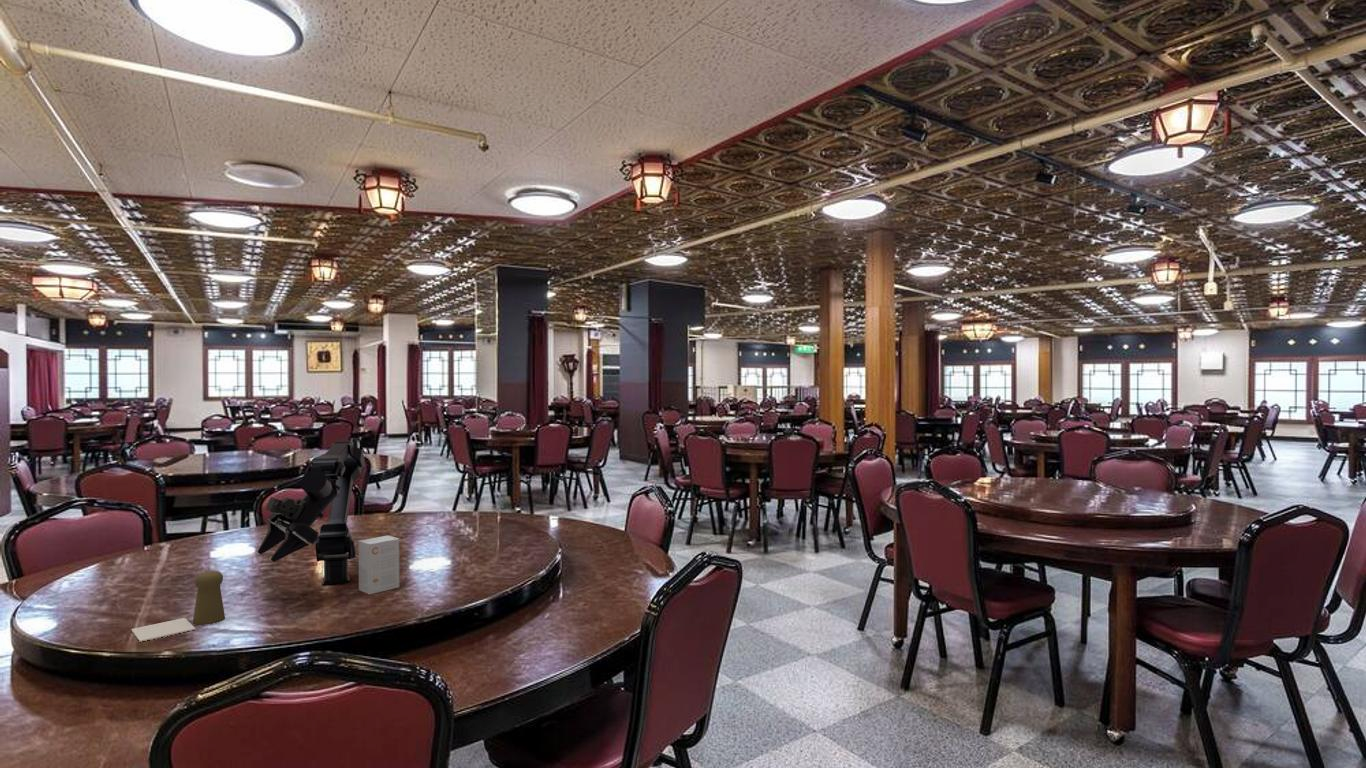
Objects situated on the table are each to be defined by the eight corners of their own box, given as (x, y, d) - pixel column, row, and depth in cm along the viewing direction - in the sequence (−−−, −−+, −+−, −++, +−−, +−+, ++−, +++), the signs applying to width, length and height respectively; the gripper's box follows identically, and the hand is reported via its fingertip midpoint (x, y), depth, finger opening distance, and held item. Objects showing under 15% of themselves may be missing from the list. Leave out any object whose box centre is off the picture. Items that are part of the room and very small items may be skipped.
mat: (184, 619, 152) (184, 617, 152) (195, 630, 145) (195, 628, 145) (131, 630, 145) (131, 629, 145) (139, 642, 138) (139, 640, 138)
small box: (388, 583, 179) (388, 534, 180) (400, 587, 175) (399, 538, 175) (357, 590, 173) (357, 540, 173) (369, 595, 169) (369, 543, 169)
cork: (231, 617, 153) (231, 569, 153) (205, 626, 147) (205, 576, 147) (212, 615, 155) (212, 567, 155) (185, 623, 149) (185, 574, 149)
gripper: (275, 479, 169) (225, 531, 161) (303, 488, 156) (250, 545, 148) (309, 505, 175) (262, 556, 167) (339, 516, 162) (289, 572, 154)
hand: (265, 557), depth 159 cm, fingers open, 9 cm apart
